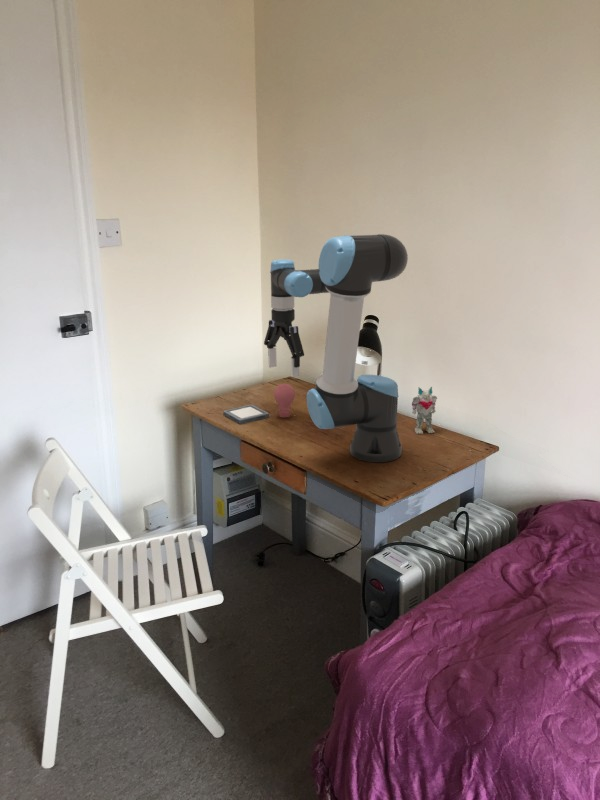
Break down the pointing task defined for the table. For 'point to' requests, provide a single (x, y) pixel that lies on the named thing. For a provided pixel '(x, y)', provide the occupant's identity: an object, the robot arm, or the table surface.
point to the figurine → (424, 409)
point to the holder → (246, 414)
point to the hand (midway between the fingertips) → (283, 371)
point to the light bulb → (284, 398)
